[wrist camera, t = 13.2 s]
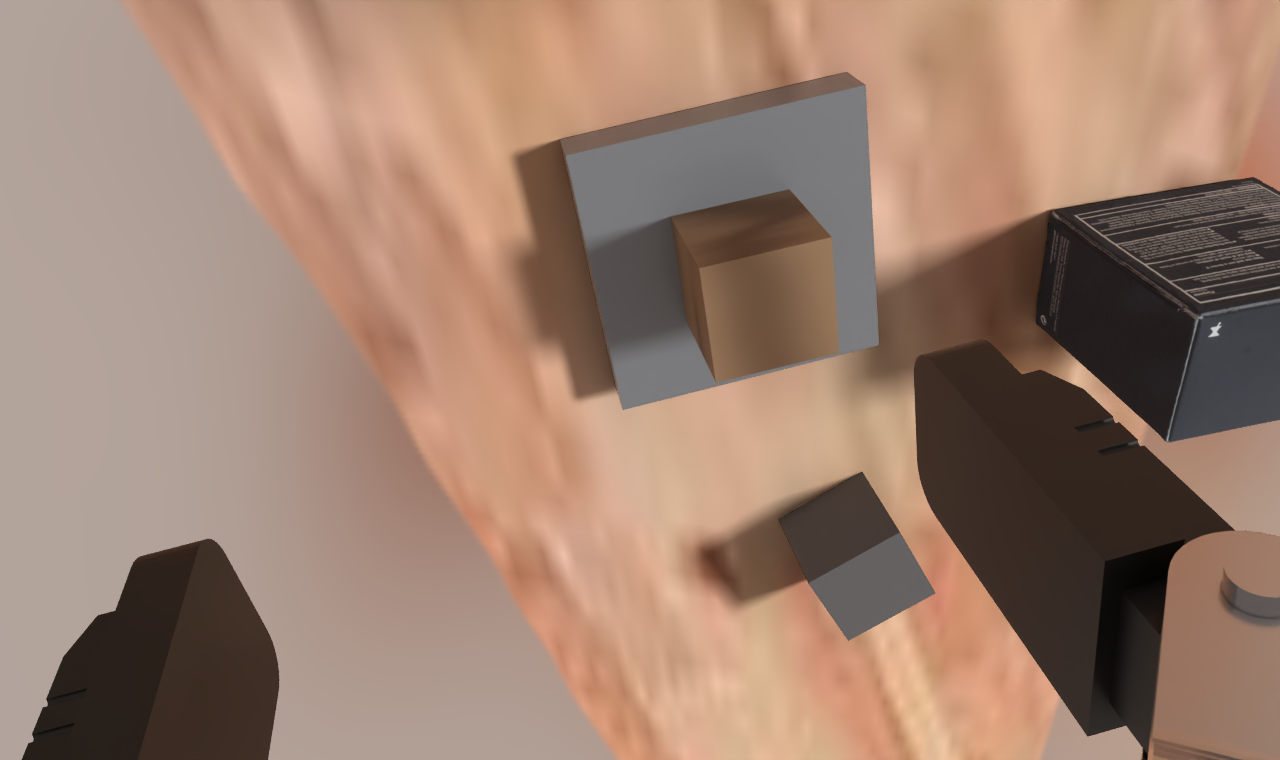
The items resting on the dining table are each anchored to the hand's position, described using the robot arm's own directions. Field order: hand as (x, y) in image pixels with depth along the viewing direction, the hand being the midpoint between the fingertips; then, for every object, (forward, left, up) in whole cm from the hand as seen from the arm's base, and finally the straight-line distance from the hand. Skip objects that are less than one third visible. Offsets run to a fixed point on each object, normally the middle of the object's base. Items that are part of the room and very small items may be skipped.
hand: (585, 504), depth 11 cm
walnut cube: (-8, +12, -28) cm, 32 cm away
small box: (-28, +18, -30) cm, 45 cm away
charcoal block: (-12, +30, -30) cm, 44 cm away
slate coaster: (-8, +12, -30) cm, 33 cm away
